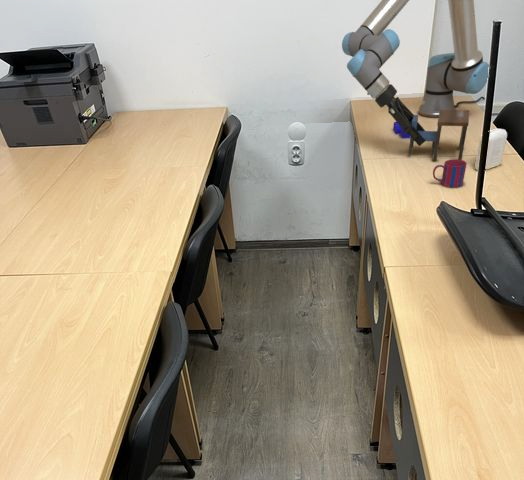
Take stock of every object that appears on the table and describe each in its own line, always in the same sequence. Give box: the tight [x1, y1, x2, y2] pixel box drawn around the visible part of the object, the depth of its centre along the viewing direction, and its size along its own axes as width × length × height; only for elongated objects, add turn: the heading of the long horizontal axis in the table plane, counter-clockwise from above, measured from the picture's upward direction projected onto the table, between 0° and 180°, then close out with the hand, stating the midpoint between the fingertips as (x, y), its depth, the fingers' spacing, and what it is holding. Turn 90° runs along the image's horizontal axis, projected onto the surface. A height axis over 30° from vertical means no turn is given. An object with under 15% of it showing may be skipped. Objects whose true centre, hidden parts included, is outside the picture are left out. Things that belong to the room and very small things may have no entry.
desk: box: [432, 109, 470, 162], centre depth 187 cm, size 10×15×14 cm, turn 163°
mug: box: [432, 158, 467, 188], centre depth 168 cm, size 7×10×7 cm
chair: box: [408, 114, 437, 156], centre depth 189 cm, size 9×8×12 cm
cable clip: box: [392, 121, 410, 139], centre depth 211 cm, size 12×4×6 cm, turn 179°
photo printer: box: [474, 128, 508, 171], centre depth 176 cm, size 10×4×12 cm, turn 123°
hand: (423, 139), depth 190 cm, fingers closed on chair, 8 cm apart
